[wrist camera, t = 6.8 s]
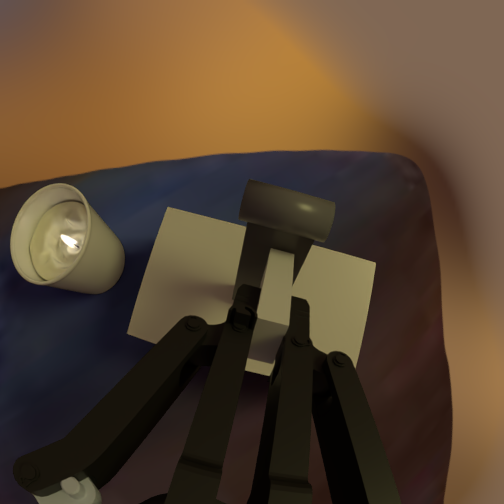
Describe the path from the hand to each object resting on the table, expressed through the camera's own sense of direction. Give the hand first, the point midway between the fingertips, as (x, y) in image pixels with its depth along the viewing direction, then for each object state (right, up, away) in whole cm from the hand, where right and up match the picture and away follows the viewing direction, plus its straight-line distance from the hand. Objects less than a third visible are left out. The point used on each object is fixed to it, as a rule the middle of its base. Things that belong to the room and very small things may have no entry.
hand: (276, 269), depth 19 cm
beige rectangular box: (-2, -5, +15) cm, 16 cm away
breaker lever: (-1, -3, +6) cm, 7 cm away
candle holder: (-21, 0, +16) cm, 26 cm away
